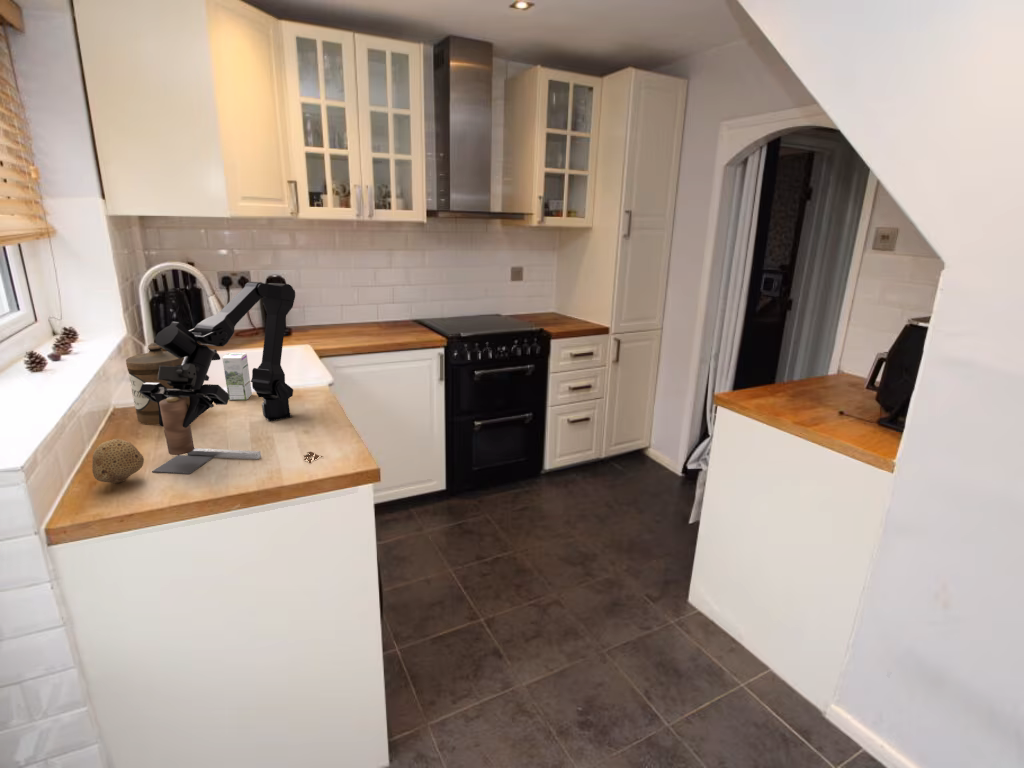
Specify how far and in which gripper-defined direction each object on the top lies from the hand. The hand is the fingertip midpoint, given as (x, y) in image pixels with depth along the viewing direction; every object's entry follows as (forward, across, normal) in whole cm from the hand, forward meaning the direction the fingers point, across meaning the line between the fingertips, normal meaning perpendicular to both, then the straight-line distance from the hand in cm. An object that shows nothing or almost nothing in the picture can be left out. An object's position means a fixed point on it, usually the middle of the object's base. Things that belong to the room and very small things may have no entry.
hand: (172, 426), depth 124 cm
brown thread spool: (+4, 0, +6) cm, 7 cm away
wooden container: (-15, -26, +30) cm, 42 cm away
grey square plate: (+6, 0, +8) cm, 10 cm away
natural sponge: (+13, -8, +2) cm, 15 cm away
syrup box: (-28, -14, +43) cm, 53 cm away
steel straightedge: (+3, +7, +12) cm, 14 cm away
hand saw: (-2, +21, +17) cm, 27 cm away
